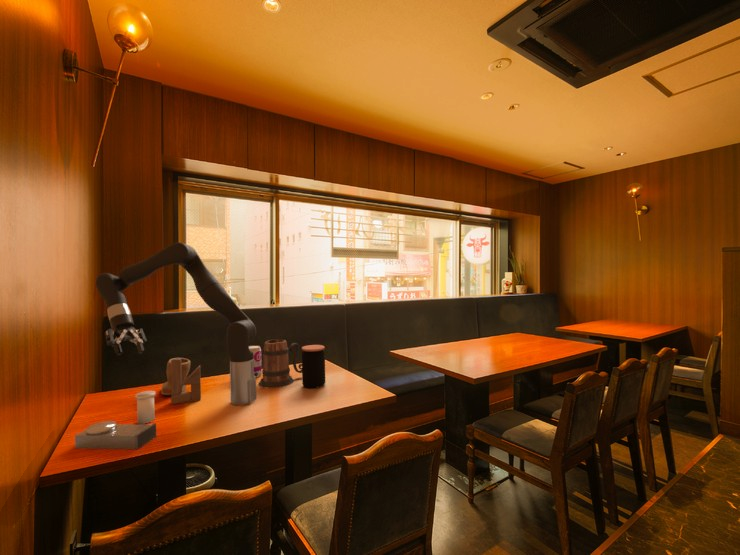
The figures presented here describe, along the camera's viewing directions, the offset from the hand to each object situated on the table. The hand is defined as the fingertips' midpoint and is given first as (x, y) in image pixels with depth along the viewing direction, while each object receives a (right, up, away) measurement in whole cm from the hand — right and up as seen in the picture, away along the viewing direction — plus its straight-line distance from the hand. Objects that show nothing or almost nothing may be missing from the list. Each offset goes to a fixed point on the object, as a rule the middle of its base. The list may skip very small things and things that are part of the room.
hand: (131, 353), depth 138 cm
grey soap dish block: (+14, -22, -27) cm, 38 cm away
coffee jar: (+68, -21, +26) cm, 76 cm away
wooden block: (+17, -22, +9) cm, 29 cm away
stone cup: (+6, -22, +21) cm, 31 cm away
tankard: (+51, -21, +35) cm, 65 cm away
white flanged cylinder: (+13, -22, -11) cm, 28 cm away
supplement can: (+34, -21, +44) cm, 59 cm away
